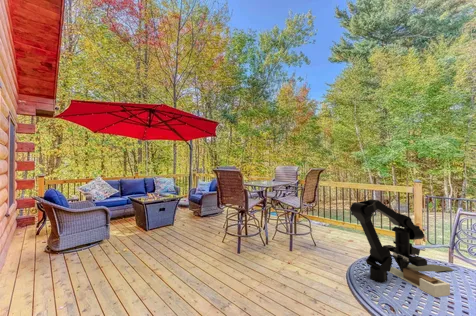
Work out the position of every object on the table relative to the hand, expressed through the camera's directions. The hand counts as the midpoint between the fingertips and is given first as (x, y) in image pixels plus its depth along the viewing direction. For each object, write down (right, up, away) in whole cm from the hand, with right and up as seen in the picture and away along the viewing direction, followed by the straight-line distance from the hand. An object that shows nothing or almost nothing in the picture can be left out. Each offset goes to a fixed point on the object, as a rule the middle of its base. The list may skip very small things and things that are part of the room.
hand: (403, 272), depth 104 cm
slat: (+2, -1, -8) cm, 8 cm away
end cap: (+3, -1, -14) cm, 14 cm away
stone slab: (+21, -4, +9) cm, 23 cm away
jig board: (+1, -2, -4) cm, 5 cm away
